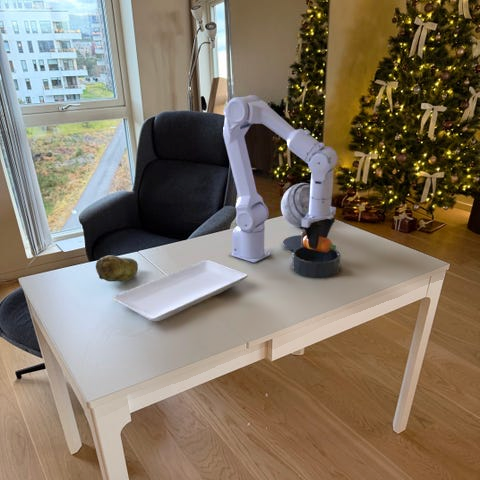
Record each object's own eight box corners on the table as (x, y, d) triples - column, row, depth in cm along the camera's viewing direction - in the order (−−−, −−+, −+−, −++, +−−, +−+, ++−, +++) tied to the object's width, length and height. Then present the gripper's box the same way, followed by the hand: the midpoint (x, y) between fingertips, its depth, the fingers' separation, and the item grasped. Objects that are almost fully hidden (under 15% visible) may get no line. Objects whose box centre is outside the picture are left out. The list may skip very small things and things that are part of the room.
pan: (287, 274, 125) (287, 259, 123) (298, 257, 135) (299, 243, 133) (334, 280, 121) (336, 265, 119) (341, 262, 132) (343, 248, 129)
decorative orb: (297, 235, 152) (299, 191, 144) (272, 224, 162) (273, 182, 155) (329, 227, 159) (333, 184, 151) (303, 216, 169) (305, 176, 162)
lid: (277, 251, 140) (278, 237, 137) (288, 236, 151) (289, 223, 149) (322, 256, 136) (323, 242, 133) (330, 240, 147) (331, 227, 145)
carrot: (299, 248, 126) (300, 235, 124) (307, 244, 129) (308, 231, 127) (330, 256, 121) (331, 242, 119) (337, 252, 124) (339, 238, 121)
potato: (148, 278, 124) (145, 251, 120) (106, 292, 117) (101, 264, 113) (133, 269, 129) (129, 243, 125) (92, 282, 122) (86, 255, 118)
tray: (112, 308, 110) (110, 295, 108) (207, 269, 129) (206, 258, 127) (154, 333, 99) (152, 319, 98) (249, 286, 119) (249, 274, 117)
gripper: (319, 205, 111) (315, 256, 118) (347, 193, 120) (342, 241, 127) (295, 201, 115) (293, 250, 122) (324, 189, 124) (321, 235, 131)
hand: (317, 245), depth 125 cm, fingers closed on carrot, 4 cm apart
